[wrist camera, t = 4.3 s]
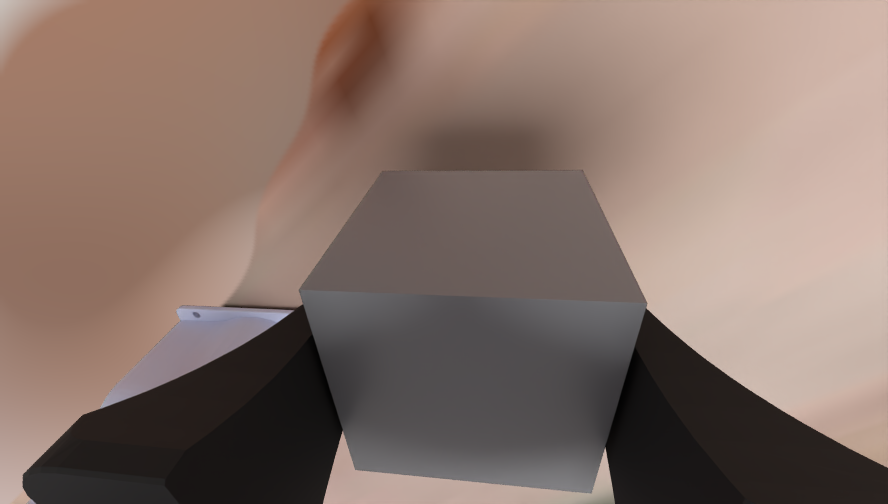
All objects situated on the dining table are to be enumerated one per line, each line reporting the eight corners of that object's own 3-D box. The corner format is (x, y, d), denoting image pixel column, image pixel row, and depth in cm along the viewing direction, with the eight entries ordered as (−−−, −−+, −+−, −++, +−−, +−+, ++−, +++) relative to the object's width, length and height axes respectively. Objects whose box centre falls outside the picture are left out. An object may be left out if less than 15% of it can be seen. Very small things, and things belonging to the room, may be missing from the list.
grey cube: (403, 316, 15) (355, 470, 10) (382, 170, 12) (298, 289, 7) (560, 324, 15) (591, 493, 10) (582, 170, 11) (647, 303, 6)
